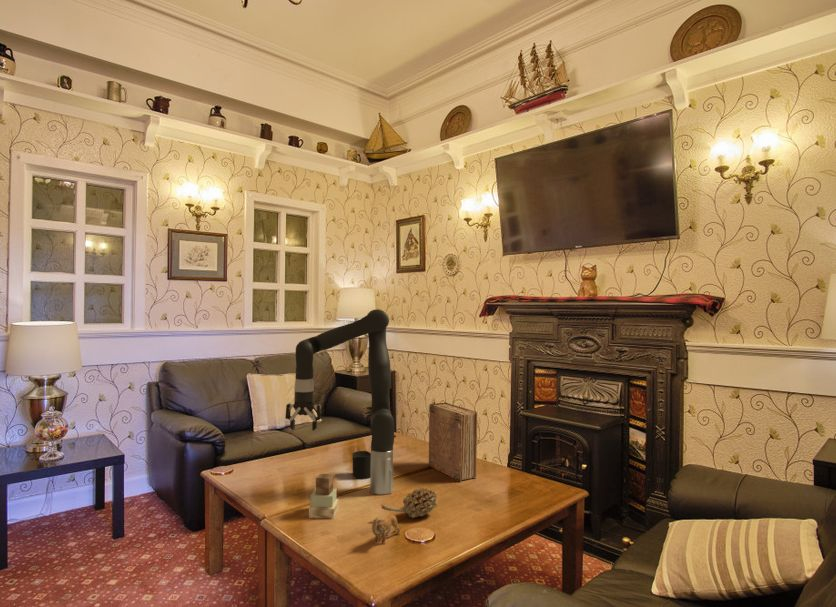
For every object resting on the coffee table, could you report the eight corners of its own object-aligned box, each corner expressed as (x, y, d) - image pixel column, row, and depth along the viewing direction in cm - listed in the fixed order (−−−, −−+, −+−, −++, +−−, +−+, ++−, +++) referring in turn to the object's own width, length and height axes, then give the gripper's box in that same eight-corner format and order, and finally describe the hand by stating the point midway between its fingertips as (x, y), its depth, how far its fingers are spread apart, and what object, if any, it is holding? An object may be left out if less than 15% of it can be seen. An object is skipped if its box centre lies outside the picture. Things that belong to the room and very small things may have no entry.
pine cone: (430, 508, 191) (431, 482, 191) (442, 517, 182) (442, 490, 182) (376, 517, 182) (376, 490, 182) (385, 528, 173) (386, 499, 173)
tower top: (336, 499, 189) (336, 488, 189) (332, 507, 181) (332, 496, 181) (315, 498, 189) (315, 487, 189) (310, 506, 181) (310, 495, 181)
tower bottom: (338, 509, 189) (338, 499, 189) (333, 519, 180) (333, 508, 180) (315, 508, 189) (315, 498, 189) (308, 518, 180) (309, 507, 180)
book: (476, 479, 224) (477, 411, 224) (460, 482, 219) (461, 413, 220) (444, 463, 246) (445, 402, 246) (428, 466, 241) (429, 403, 241)
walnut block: (333, 490, 187) (333, 474, 187) (328, 495, 182) (328, 478, 182) (320, 489, 187) (320, 473, 187) (315, 494, 182) (315, 477, 183)
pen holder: (374, 473, 230) (375, 451, 230) (370, 480, 220) (371, 457, 220) (354, 472, 231) (355, 450, 231) (349, 479, 221) (350, 456, 221)
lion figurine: (382, 550, 157) (382, 521, 157) (367, 547, 159) (368, 518, 159) (403, 531, 170) (403, 505, 170) (389, 528, 173) (389, 502, 173)
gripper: (323, 388, 206) (323, 428, 205) (289, 387, 207) (289, 427, 207) (318, 391, 198) (318, 432, 198) (283, 390, 199) (283, 431, 199)
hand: (303, 429), depth 202 cm, fingers open, 8 cm apart
